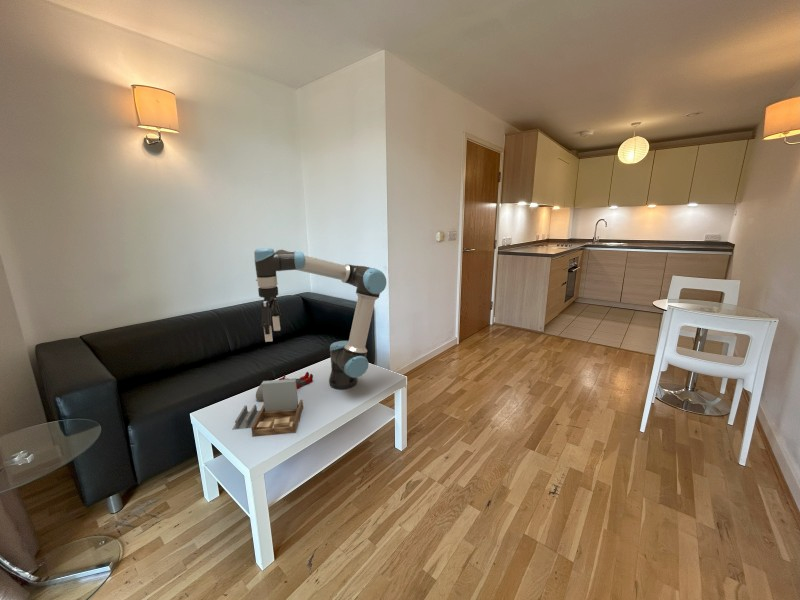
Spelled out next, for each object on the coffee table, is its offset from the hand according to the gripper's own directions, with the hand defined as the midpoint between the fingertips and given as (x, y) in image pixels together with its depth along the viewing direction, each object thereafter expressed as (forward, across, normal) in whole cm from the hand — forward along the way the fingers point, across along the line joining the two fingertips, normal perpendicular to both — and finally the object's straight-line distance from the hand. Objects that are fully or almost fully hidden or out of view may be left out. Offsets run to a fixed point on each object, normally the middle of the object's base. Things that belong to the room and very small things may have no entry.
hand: (273, 335), depth 138 cm
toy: (+39, -23, -4) cm, 45 cm away
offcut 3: (+37, +12, +3) cm, 39 cm away
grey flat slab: (+37, 0, 0) cm, 37 cm away
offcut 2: (+35, +12, +3) cm, 37 cm away
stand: (+38, +2, -14) cm, 41 cm away
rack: (+38, +5, 0) cm, 39 cm away
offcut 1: (+37, +12, -4) cm, 39 cm away
